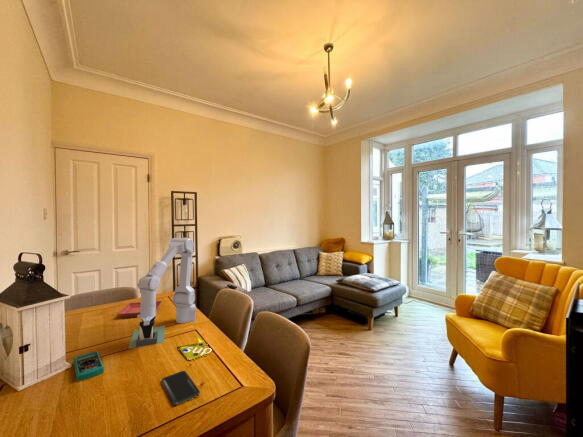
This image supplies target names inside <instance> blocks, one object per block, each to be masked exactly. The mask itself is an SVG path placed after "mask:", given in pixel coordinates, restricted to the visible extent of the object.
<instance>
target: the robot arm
mask: <svg viewBox="0 0 583 437" xmlns="http://www.w3.org/2000/svg"><path fill="white" fill-rule="evenodd" d="M194 244H195V243H194V241H193V239H191V238H183V237H182V238H181V237H173V238H171V240H170V241H169V242H168V248H167V249H166V252H165V253H164V254H163V256H162V258H161V259H160V260H159V261H156V262H155V263H154V264H153V265H152V267H151V269H149V271H148V272H147V274H145V275H144V276H142V277H140V279H138V283H137V287H138V289H139V293H140V302H141V310H140V315H137V317H136V318H138V319H140V320H141V321H139V322H138V323H139V325H138V326H139V328H140V327H141V328H142V331H143V336H144V339H145V338H150V335H151V330H152V327H153V328H154V325H155V323H156V321H155V319H156V318H157V317H156V316H157V311H156V301H157V289H158V288H159V286H160V283H161V279H162V277H163V275H164V274H165V273H166V271H167V270H168V265H169V263H170V262H171V260H172V259H173V258H174V257H175V256H176V255H177V254H178V255H180V257H181V258H180V267H179V268H180V270H179V280H178V282H179V283H178V287H176V288H175V289H174V293H173V295H172V302H173V304H174V305H175V307H176V308H175V322H176V323H178V324H185V323H188V322H189V323H190V322H193V323H196V318H197V315H196V303H195V300H196V294H195V289H194V288H193V287H192V286H191V278H192V277H191V276H192V264H193V263H192V262H193V254H194V246H195V245H194Z"/></svg>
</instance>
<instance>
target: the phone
mask: <svg viewBox="0 0 583 437" xmlns="http://www.w3.org/2000/svg"><path fill="white" fill-rule="evenodd" d="M161 385H162V387H163V388H164V390H165V392H166V394H167V396H168V399H169V400H170V402H171V404H172V406H173V405H175V406H174V407H177V406H176V405H178V406H180V405H182V404H181V403H183V402H185V401H187V402H189V401H191V400H190V399H192V398H194V399H195V397H196V396H198V395H199V394H200V392H201V391H200V390H199V388H198V387H197V386H196V384H195V382H194V381H193V380H192V378H191V376H190V375H189V374H188V373H187V370H182V371H179V372H176V373H173V374H170V375H167V376H165V377H162V379H161ZM199 396H200V395H199ZM199 396H198V397H199ZM196 398H197V397H196ZM188 400H189V401H188ZM192 400H193V399H192ZM185 403H186V402H185ZM179 404H180V405H179ZM183 404H184V403H183Z"/></svg>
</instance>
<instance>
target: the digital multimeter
mask: <svg viewBox="0 0 583 437" xmlns="http://www.w3.org/2000/svg"><path fill="white" fill-rule="evenodd" d="M72 362H73V363H74V364H73V366H75V367H74V371H75V377H76V378H75V379H76V380H77V381H76V382H79V380H81V381H83V380H84V381H85V380H88V379H90V378H94V377H96V376H99V375H101V374H104V372H105V368H104V367H105V366H104V364H103V362H102V360H101V357H100V353H99V351H91V352H88V353H84V354H80V355H78V356H76V357H74V358H73V360H72Z"/></svg>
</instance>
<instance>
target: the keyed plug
mask: <svg viewBox="0 0 583 437" xmlns="http://www.w3.org/2000/svg"><path fill="white" fill-rule="evenodd" d="M153 328H154V326H153V327H152V330H151V335H150V338H145V339H144V336H143V331H142V328H141V327H140V326H139V330H140V335H139V339H140V340H146V339H152V338H153Z"/></svg>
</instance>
